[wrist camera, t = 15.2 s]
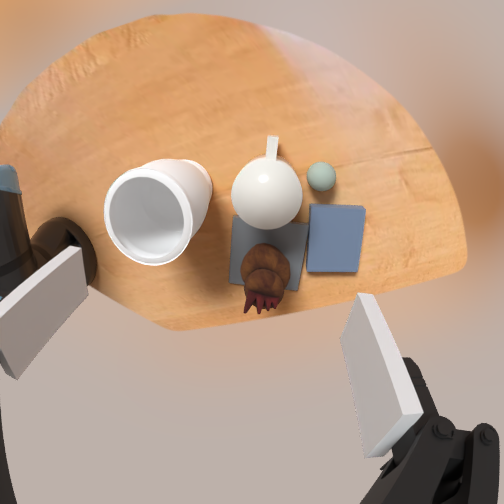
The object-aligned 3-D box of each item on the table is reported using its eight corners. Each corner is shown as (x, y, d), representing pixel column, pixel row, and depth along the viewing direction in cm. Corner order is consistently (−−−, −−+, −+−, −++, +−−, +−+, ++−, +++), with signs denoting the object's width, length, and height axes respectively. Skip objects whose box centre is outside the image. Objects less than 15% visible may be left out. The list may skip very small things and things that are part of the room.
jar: (222, 220, 44) (198, 266, 30) (158, 222, 45) (113, 265, 31) (217, 149, 39) (186, 162, 26) (149, 155, 40) (95, 174, 27)
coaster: (229, 279, 48) (228, 282, 47) (234, 214, 43) (233, 216, 42) (296, 287, 47) (297, 290, 47) (308, 223, 43) (309, 225, 42)
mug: (238, 205, 43) (229, 225, 34) (244, 132, 38) (236, 133, 30) (292, 211, 42) (297, 233, 34) (302, 138, 38) (309, 141, 30)
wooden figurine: (237, 257, 45) (220, 317, 31) (259, 229, 43) (251, 281, 29) (272, 281, 46) (270, 346, 33) (295, 255, 44) (303, 315, 30)
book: (305, 264, 46) (306, 271, 44) (309, 202, 42) (311, 207, 40) (354, 264, 46) (357, 271, 43) (361, 204, 42) (366, 209, 39)
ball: (303, 185, 41) (306, 191, 37) (307, 158, 39) (310, 161, 35) (330, 189, 40) (336, 196, 37) (334, 162, 39) (341, 166, 35)
